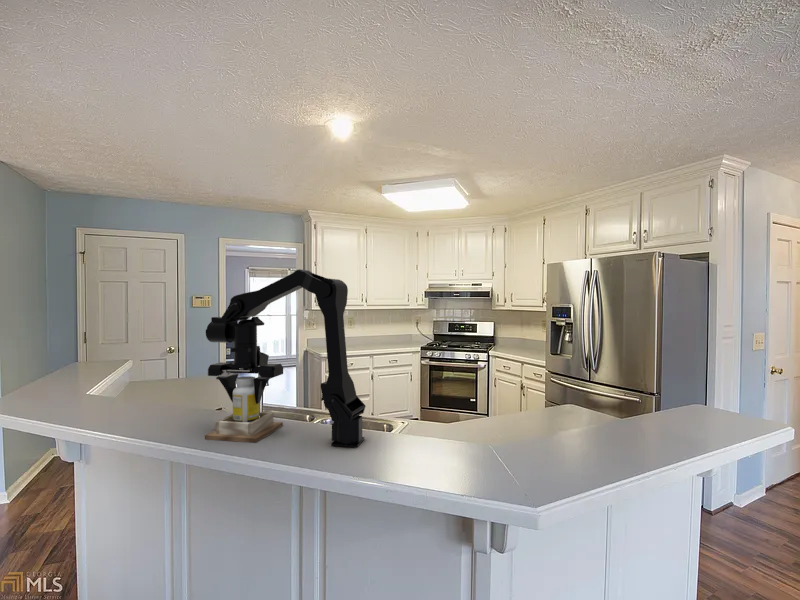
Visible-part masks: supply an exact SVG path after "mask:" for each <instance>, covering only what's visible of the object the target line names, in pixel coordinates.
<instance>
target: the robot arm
mask: <svg viewBox="0 0 800 600" xmlns="http://www.w3.org/2000/svg"><path fill="white" fill-rule="evenodd" d="M300 289H304V290H306V291H307V292H309V293H312V294H314V295H315V298H316V302H317V305H318V308H319V310H320V312H321V313H322V315H323V321H324V322H323V323H324V334H325V335H324V336H325V346H326V357H327V358H326V359H327V369H328V371H327V372H328V373H327V379H326V381H324V382H321V383H320V391H321V398H320V401H321V402H322V401H323V405H324V407H325V409H327V410H328V414H329V416H330V419H331V420H330V421H332V423H331V441H332V442H331V443H330V445H331V446H333V447H345V448H359V446H360V445H361V444H362V443H363V441H365V437H364V436H363V415H362V414H364V413H365V409H366V407H367V406H366V405H365V402H364V401H362V400H361V399H360V398H359V397H358V395H357V392H356V387H355V384H354V383H355V382H354V381H353V379H352V377H351V375H350V373H349V370H348V369H349V368H348V359H347V358H348V357H347V345H346V334H345V320H344V313H345V310H346V306H347V304H348V293H349V288H348V286H347V284H346V283H345V282H344V281H343V280H341V279H335V278H328V277H324V276H323V275H318V274H316V273H313V272H312V271H310V270H308V269H307V270H306V269H296V270H295V271H293V272H292V273H290V274H289V275H287V276H284V277H282V278H280V279H278V280H275V281H274V282H272V283H270V284H268V285H266V286H264V287H262V288H260V289H258V290H254V291H248V292H244V293H241V294H236V295H233V297H231V298H230V301H229V305H228V306H227V308H226V310H225V312H224V313H223V314H222V316H212V317H211V320H210V322H209V323H208V324H207V327H206V329H205V336H206V339H207V340H208V341H209V342H210V343H225V344H226V343H228V344H230V343H233V347H231V348H230V352H231V353H233V363H232V362H221V361H220V362H217V363H212V364H209V366H208V368H207V376H208V377H215V379H216V380H219V382H220V383H221V385H222V386H223V389H225V391H226V393H227V395H228V396H229V397H228V398H229V399H230V401H231V403H232V404H233V390H234V389H235V388H236V387H237V384H236V378H239V377H238V376H239V374H257V377H255V378H254V390H255V400H256V404H258V403H259V404H260V403H261V400H262V396H263V394H264V391H265V388H266V387H267V384H268V383H269V381H270V379H273V378H277V377H279V376H281V375H284V367H283V365H282V363H271V362H270V363H269V357H270V355H269V354H266V353H264V352H261V347H260V345H258V327H259V326H264V325H265V322H264V321H263V320H261V319H260V318H259V316H258V315H259V314H260V313H262V312H264V310H265V309H266V308H267V307H268V306H269V305H270V304H271V303H273V302H275V301H278V300H280V299H282V298H284V297H286V296H288V295H291V294H292V293H294V292H296V291H298V290H300Z"/></svg>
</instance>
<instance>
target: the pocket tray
mask: <svg viewBox="0 0 800 600" xmlns="http://www.w3.org/2000/svg"><path fill="white" fill-rule="evenodd" d="M283 426H284V422H281V421H274V412H271V411H270V412H269V411H261V412H259V418H258V419H256V420H254V421H253V422H251V423H247V422H233V413H232V414H230V415H228V416H225V417H223V418H221V419H218V420H217V421H215V429H214V430H213V431H210V432H209V433H206V434H204V440H207V441H209V440H210V441H223V442H224V441H226V442H227V441H228V442H237V443H238V442H240V443H241V442H242V443H256V444H257V443H258V442H259V441H261V440H263V439H264V438H266V437H268V436H269V435H271V434H272V433H274V432H276V431H277V430H279V429H280V428H282V427H283Z"/></svg>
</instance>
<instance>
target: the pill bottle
mask: <svg viewBox="0 0 800 600" xmlns="http://www.w3.org/2000/svg"><path fill="white" fill-rule="evenodd" d="M254 378H256V377H255V376H251V375H250V376H247V375H246V376H239V377H237V378H236V388H235V389H234V390H233V403H232V414H233V422H247V423H251V422H253V421H254V420H256V419H258V418H260V403H258V404H256V400H255V390H254Z"/></svg>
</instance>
